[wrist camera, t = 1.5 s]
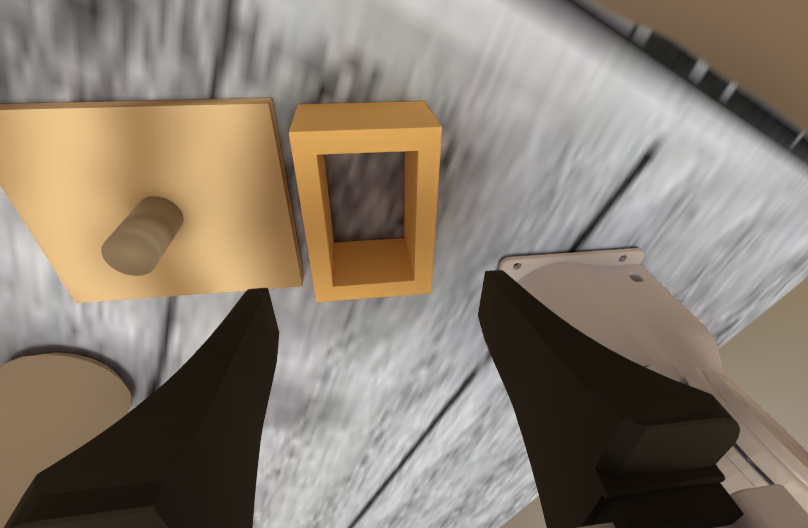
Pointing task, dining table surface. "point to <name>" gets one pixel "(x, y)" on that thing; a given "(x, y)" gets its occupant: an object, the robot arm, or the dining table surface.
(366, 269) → the link
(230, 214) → the wooden block with peg
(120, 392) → the can
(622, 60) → the dining table surface
